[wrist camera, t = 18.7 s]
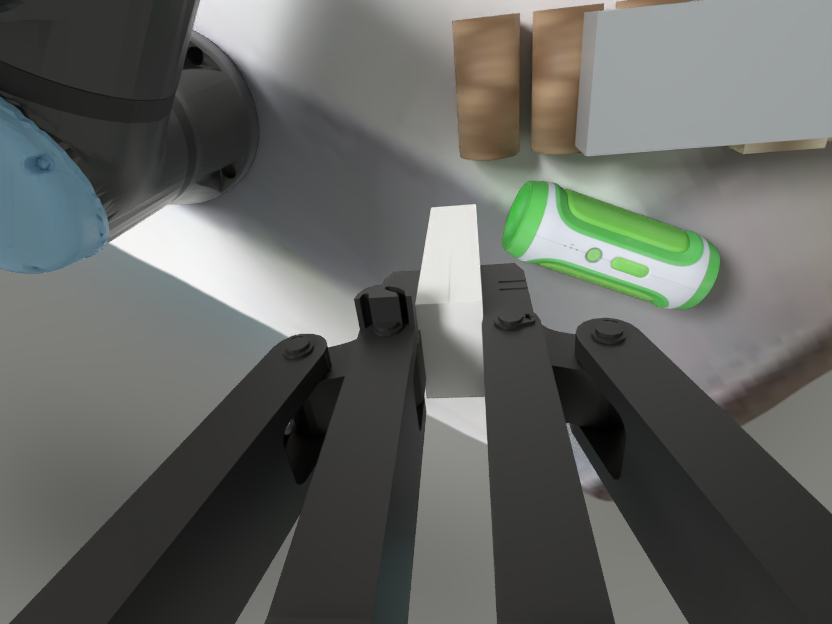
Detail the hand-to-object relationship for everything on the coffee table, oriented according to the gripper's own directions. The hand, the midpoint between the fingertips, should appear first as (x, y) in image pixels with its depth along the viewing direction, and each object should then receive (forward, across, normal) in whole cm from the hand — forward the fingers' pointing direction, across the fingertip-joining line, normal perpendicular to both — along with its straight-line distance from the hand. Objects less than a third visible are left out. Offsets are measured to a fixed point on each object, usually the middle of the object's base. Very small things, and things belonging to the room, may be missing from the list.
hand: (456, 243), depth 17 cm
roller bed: (+30, +8, +1) cm, 31 cm away
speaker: (+31, +12, -12) cm, 35 cm away
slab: (+25, +18, +1) cm, 31 cm away
